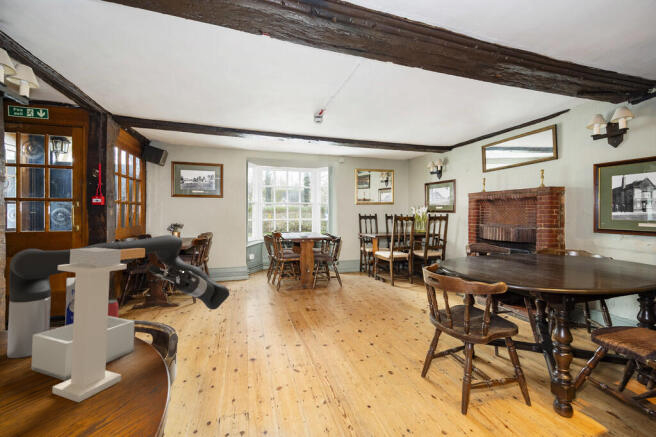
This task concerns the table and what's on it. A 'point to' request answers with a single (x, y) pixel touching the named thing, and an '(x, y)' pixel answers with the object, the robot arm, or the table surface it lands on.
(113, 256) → the metal head mallet
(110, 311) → the beer can
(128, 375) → the table surface
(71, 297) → the milk carton
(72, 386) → the stand
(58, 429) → the table surface
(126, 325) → the box
